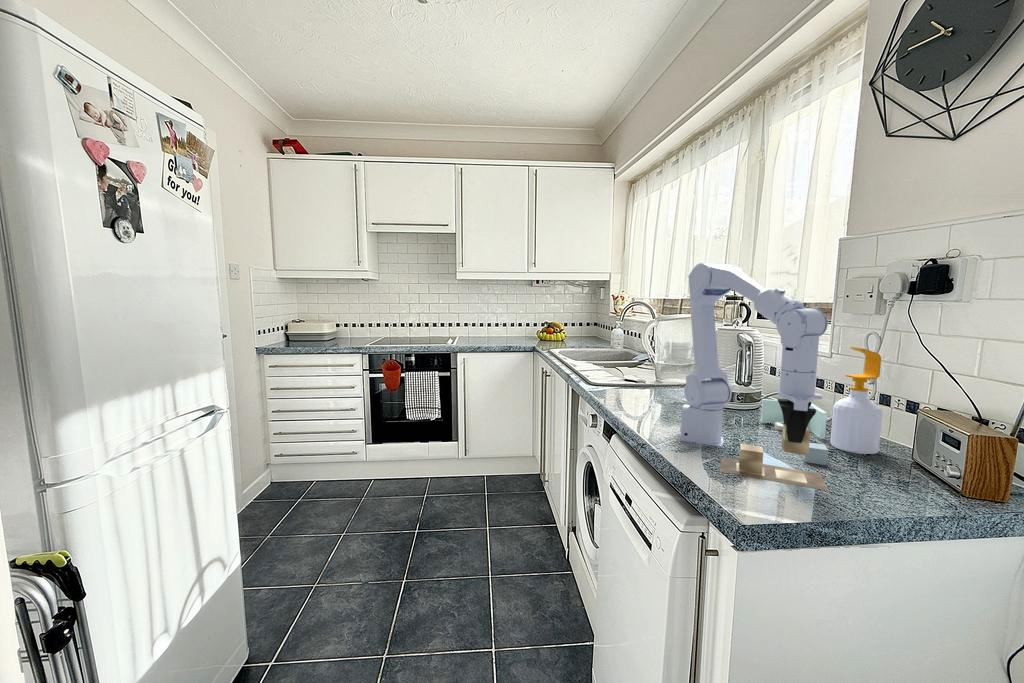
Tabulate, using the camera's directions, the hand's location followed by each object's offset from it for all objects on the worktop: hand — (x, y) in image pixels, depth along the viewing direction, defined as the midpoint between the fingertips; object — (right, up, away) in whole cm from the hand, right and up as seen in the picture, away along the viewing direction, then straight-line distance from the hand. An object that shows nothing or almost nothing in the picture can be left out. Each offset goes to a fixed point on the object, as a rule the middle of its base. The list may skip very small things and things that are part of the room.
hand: (793, 438), depth 83 cm
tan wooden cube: (0, -2, 0) cm, 2 cm away
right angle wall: (+21, -6, +33) cm, 40 cm away
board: (-3, -8, +2) cm, 9 cm away
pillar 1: (-6, -7, +4) cm, 10 cm away
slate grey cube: (+11, -8, +9) cm, 16 cm away
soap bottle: (+27, -7, +19) cm, 34 cm away
